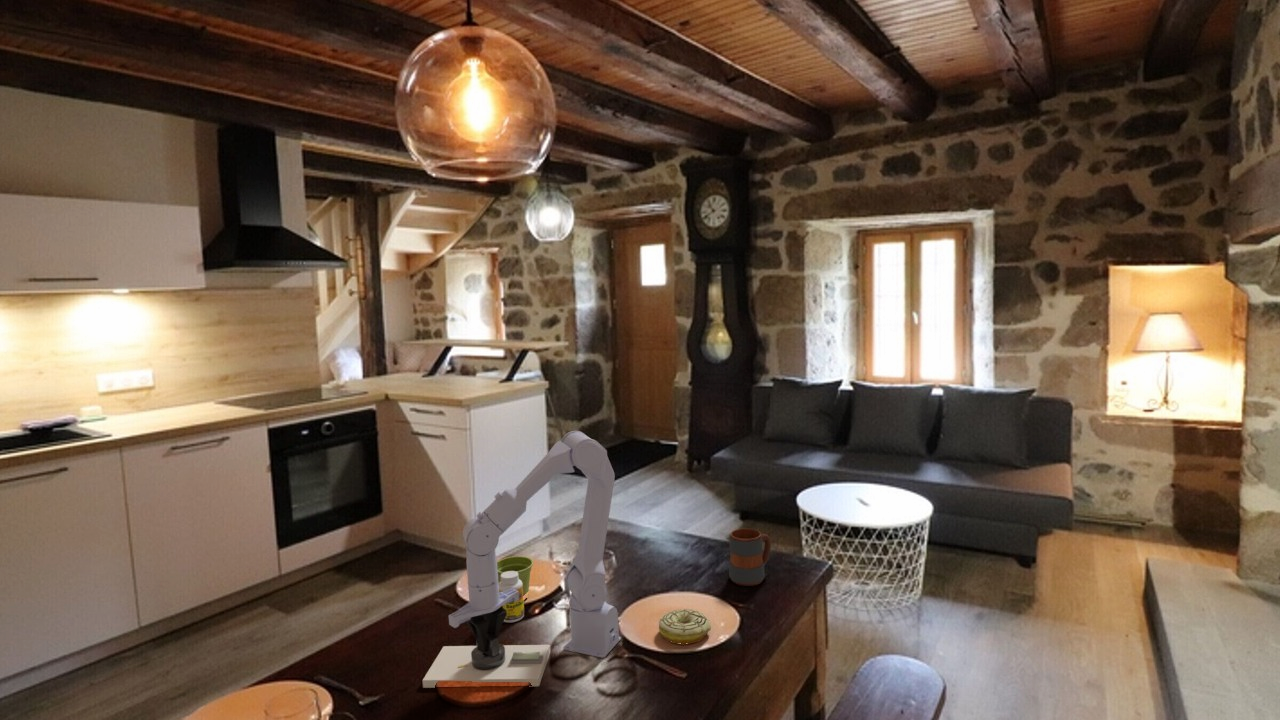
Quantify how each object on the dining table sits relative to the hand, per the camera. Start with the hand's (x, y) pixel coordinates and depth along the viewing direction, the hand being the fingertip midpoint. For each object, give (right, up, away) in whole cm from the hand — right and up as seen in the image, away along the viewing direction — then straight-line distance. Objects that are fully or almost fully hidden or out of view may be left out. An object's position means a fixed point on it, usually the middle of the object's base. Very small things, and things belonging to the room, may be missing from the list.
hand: (487, 647), depth 134 cm
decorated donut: (+39, -2, +11) cm, 41 cm away
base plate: (0, -4, +1) cm, 4 cm away
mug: (+58, +2, +36) cm, 68 cm away
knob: (0, -3, 0) cm, 3 cm away
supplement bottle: (+1, -2, +21) cm, 21 cm away
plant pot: (0, -1, +30) cm, 30 cm away
